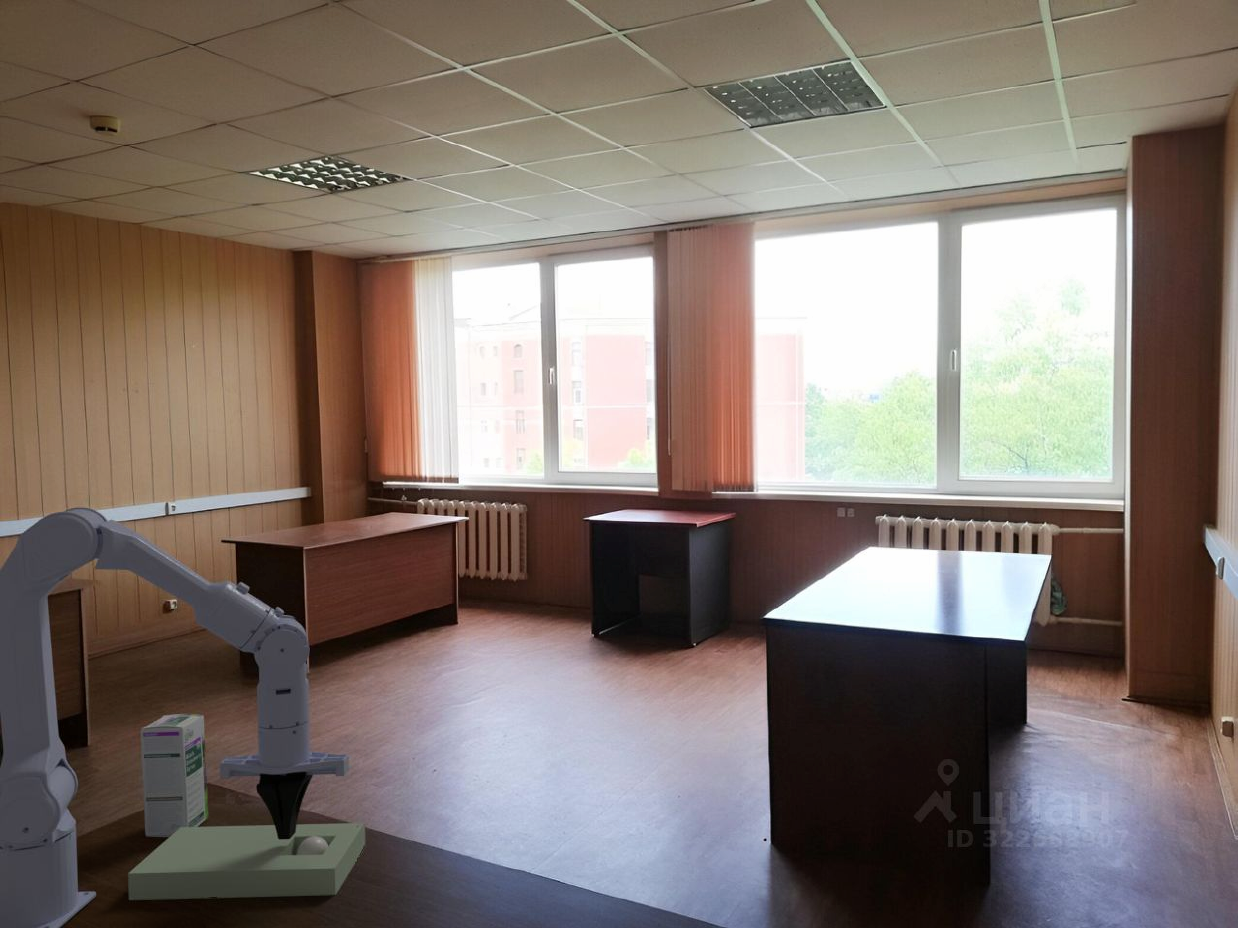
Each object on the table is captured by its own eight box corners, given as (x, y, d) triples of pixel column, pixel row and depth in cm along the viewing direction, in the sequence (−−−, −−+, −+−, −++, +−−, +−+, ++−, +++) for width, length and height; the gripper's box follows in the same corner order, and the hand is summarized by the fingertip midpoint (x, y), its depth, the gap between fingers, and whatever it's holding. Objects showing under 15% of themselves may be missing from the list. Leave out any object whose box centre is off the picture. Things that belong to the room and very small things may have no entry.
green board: (128, 899, 98) (128, 873, 98) (181, 850, 110) (180, 827, 110) (335, 894, 99) (334, 868, 98) (365, 846, 111) (364, 822, 110)
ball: (329, 864, 103) (303, 880, 103) (338, 849, 106) (313, 865, 106) (312, 839, 103) (286, 855, 103) (322, 825, 106) (297, 840, 106)
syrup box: (187, 837, 114) (184, 726, 114) (142, 837, 114) (139, 726, 114) (209, 818, 120) (206, 712, 120) (166, 819, 120) (163, 713, 120)
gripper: (355, 710, 108) (358, 819, 108) (236, 712, 108) (239, 822, 108) (337, 728, 101) (340, 845, 101) (210, 731, 101) (213, 848, 101)
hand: (286, 835), depth 104 cm, fingers closed
